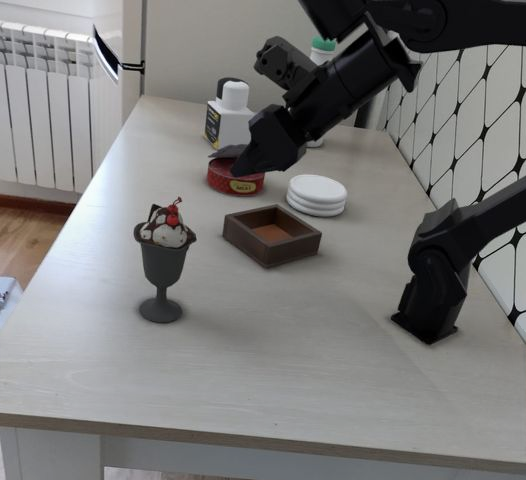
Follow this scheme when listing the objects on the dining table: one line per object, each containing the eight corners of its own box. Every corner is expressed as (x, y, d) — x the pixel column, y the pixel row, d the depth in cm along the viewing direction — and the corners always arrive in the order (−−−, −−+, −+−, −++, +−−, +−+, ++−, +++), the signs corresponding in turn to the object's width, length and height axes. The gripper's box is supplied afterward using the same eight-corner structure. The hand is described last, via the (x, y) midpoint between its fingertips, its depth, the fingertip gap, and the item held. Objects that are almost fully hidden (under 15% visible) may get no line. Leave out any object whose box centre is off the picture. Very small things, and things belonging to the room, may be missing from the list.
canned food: (207, 213, 102) (184, 158, 96) (229, 188, 109) (209, 135, 103) (265, 202, 96) (244, 143, 91) (284, 176, 104) (265, 120, 98)
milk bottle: (282, 141, 124) (301, 37, 111) (291, 132, 130) (310, 32, 118) (317, 150, 123) (340, 46, 110) (325, 140, 129) (347, 40, 116)
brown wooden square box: (317, 254, 86) (322, 232, 84) (265, 269, 80) (269, 246, 78) (273, 224, 92) (277, 203, 90) (221, 236, 86) (224, 214, 84)
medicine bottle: (203, 136, 118) (209, 73, 111) (236, 137, 121) (244, 75, 114) (216, 150, 113) (223, 85, 106) (249, 150, 116) (259, 86, 109)
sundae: (179, 333, 66) (190, 210, 57) (122, 318, 67) (124, 194, 58) (196, 303, 71) (208, 186, 62) (143, 290, 72) (148, 172, 63)
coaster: (296, 217, 95) (300, 197, 93) (278, 191, 102) (282, 172, 100) (352, 218, 98) (357, 199, 96) (330, 193, 106) (335, 174, 103)
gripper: (328, 4, 68) (234, 90, 77) (277, 21, 53) (168, 124, 62) (381, 89, 71) (284, 161, 80) (346, 126, 56) (232, 210, 65)
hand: (246, 162), depth 72 cm, fingers open, 9 cm apart
